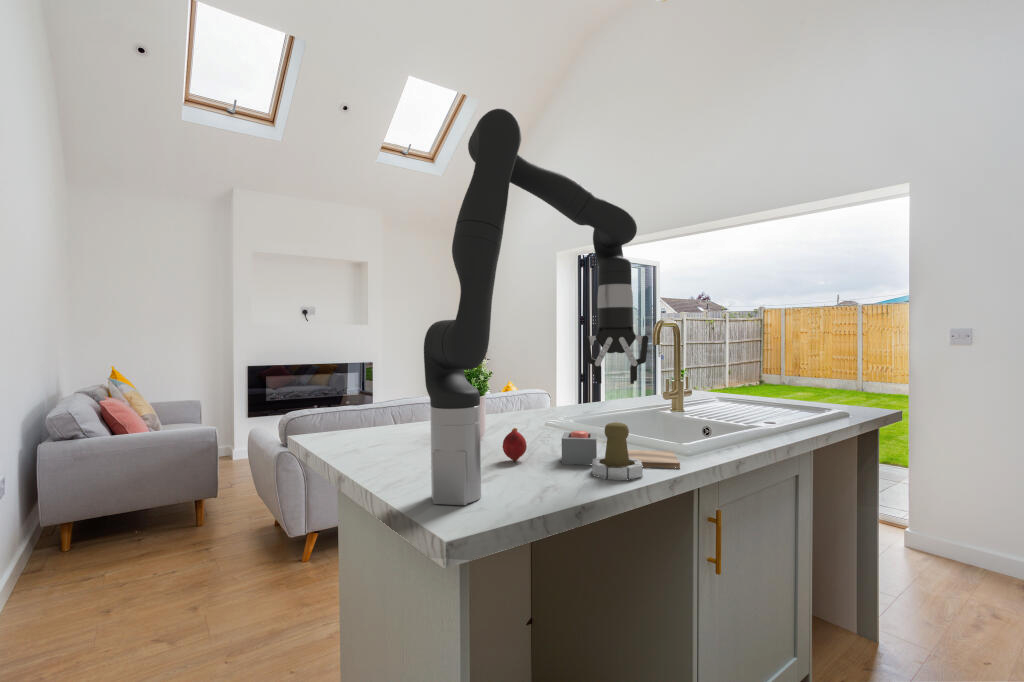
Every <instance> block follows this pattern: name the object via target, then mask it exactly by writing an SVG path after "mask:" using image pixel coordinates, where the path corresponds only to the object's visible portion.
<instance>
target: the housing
mask: <svg viewBox="0 0 1024 682" xmlns="http://www.w3.org/2000/svg"><path fill="white" fill-rule="evenodd" d="M571 432H572V431H568V432H565V431H564V432H563V434H562V437H561V465H574V464H592V461H593V459H594V458H598V456H597V455H598V452H597V451H598V449H597V443H598V441H597V439H598V437H597V435H598V434H597V432H588V438H571Z"/></svg>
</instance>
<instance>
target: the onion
mask: <svg viewBox="0 0 1024 682" xmlns="http://www.w3.org/2000/svg"><path fill="white" fill-rule="evenodd" d="M527 447H528V446H527V440H526V439H525V437H524V435H523V434H521V433H520V432H519V431H518V428H516V427H513V428H512V429H511V432H508V433H507V435H505V437H504V439H503V442H502V451H503V453H504V455H505V456H506V457H507V458H508V459H510V460H512V461H513V462H516V461H518V460H519V459H520V458H521V457H522V456H524V454H525V453H526V451H527Z"/></svg>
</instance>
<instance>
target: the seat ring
mask: <svg viewBox="0 0 1024 682" xmlns="http://www.w3.org/2000/svg"><path fill="white" fill-rule="evenodd" d="M604 461H605V455H604V456H600V457H597V458H594V459H593V461H592V465H591V466H592V467H591V468H592V472H591V473H592V474H593V475H595V476H594V477H597V476H599V477H598V478H600V477H602V478H601V479H603V478H605V479H604V480H608V479H612V480H611V481H631V480H630V479H633V480H636V479H635V478H637V479H639V478H638V477H641V478H643V477H642V476H644V475H643V472H644V471H643V467H642V462H641V461H640V460H638V459H634V458H630V457H629V463H630V466H625V467H624V466H608V465H604ZM593 475H592V476H593ZM613 479H615V480H613ZM627 479H629V480H627Z"/></svg>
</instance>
